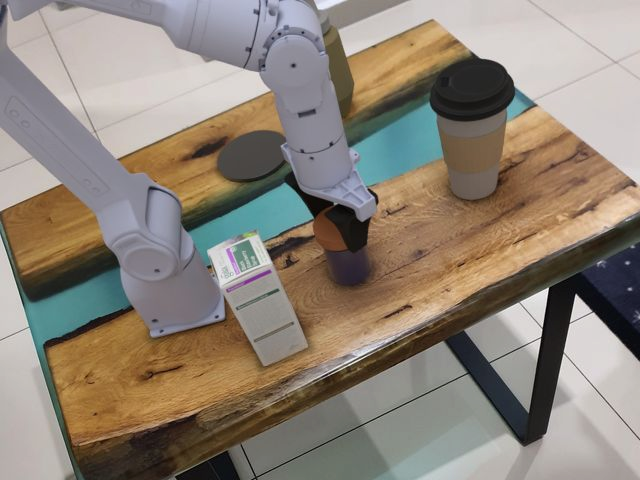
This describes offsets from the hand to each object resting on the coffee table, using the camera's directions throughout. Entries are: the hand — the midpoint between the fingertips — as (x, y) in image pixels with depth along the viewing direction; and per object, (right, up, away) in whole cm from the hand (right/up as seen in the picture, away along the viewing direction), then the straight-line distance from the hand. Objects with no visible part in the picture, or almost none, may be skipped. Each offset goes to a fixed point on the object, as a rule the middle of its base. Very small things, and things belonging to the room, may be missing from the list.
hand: (342, 233), depth 74 cm
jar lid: (0, +1, -1) cm, 1 cm away
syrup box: (-7, -12, +1) cm, 14 cm away
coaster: (-13, +15, +22) cm, 29 cm away
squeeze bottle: (-1, +23, +25) cm, 34 cm away
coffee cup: (+17, +8, +9) cm, 21 cm away
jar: (+1, -3, +5) cm, 6 cm away
